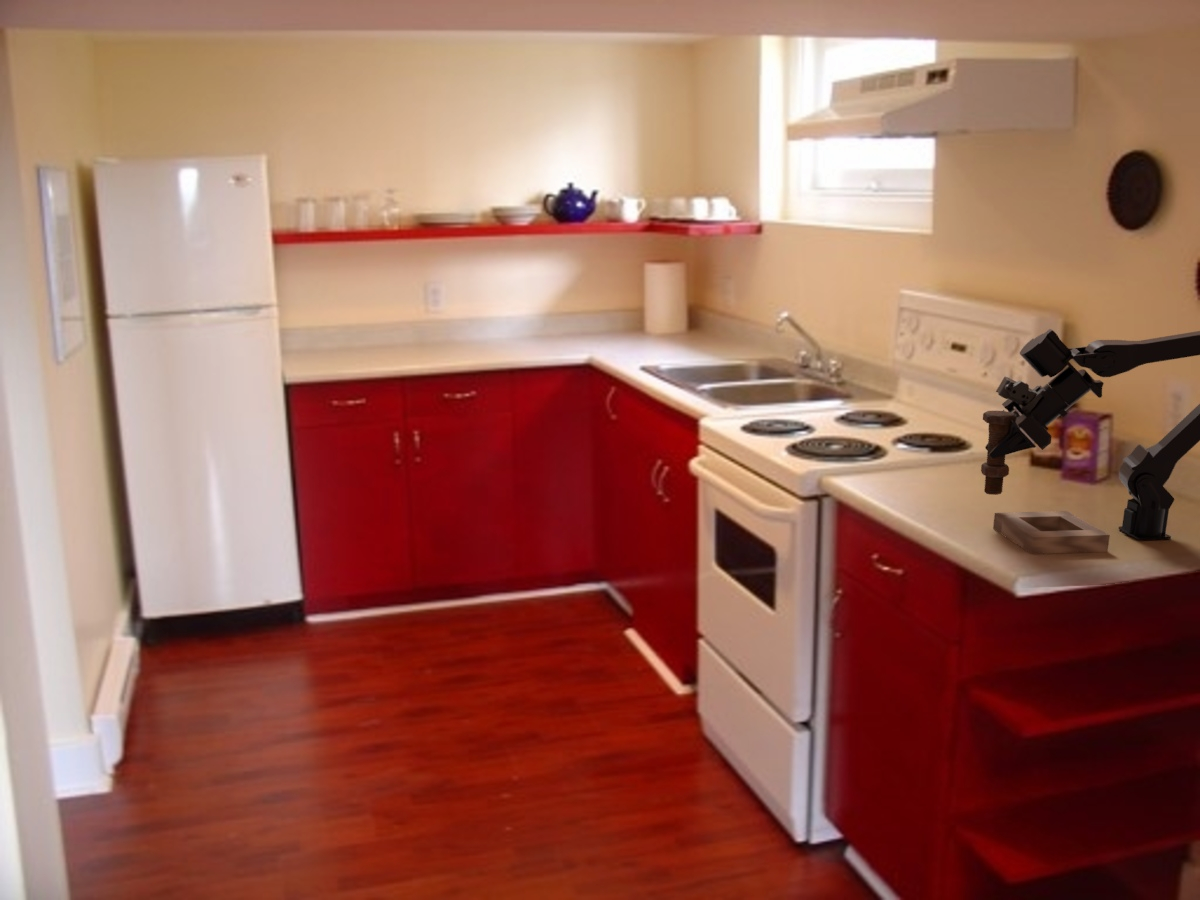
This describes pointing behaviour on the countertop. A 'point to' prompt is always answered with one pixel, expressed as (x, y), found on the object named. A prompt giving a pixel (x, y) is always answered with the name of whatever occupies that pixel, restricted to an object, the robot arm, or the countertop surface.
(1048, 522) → the jig
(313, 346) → the countertop surface
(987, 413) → the bolt
